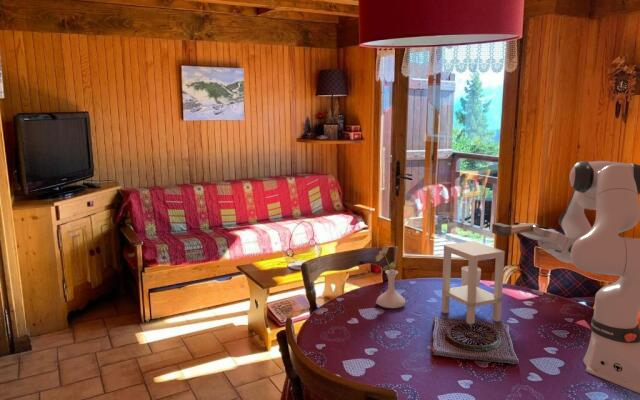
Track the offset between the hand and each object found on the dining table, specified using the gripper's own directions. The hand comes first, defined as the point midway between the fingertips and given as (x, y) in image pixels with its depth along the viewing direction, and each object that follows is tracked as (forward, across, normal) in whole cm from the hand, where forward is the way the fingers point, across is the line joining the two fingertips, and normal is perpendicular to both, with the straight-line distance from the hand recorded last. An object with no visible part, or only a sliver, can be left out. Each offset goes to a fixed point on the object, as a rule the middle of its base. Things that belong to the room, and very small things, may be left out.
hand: (528, 226), depth 190 cm
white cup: (-8, -21, +32) cm, 39 cm away
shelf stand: (+7, 0, +40) cm, 41 cm away
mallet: (+4, 0, +4) cm, 6 cm away
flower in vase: (+26, -21, +52) cm, 62 cm away
